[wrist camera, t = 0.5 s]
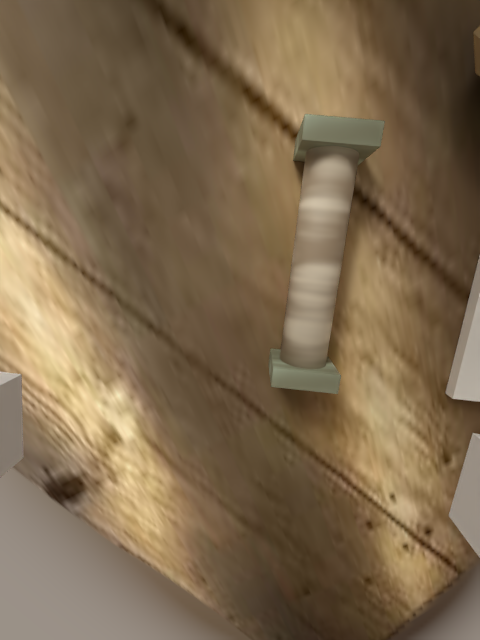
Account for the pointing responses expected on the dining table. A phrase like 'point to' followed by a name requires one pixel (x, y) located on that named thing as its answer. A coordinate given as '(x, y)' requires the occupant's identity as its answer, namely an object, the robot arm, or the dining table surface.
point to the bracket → (468, 350)
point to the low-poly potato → (477, 50)
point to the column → (320, 247)
